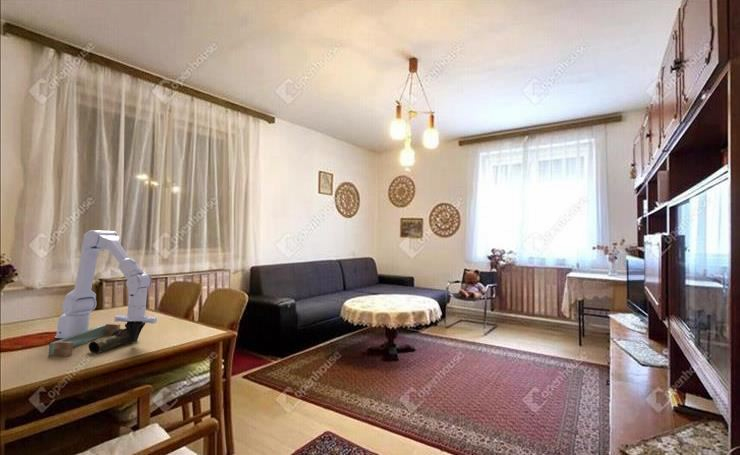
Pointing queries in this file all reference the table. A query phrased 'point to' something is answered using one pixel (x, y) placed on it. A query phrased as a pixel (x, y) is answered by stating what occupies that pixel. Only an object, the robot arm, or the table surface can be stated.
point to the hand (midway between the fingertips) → (133, 341)
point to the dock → (80, 339)
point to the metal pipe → (110, 341)
